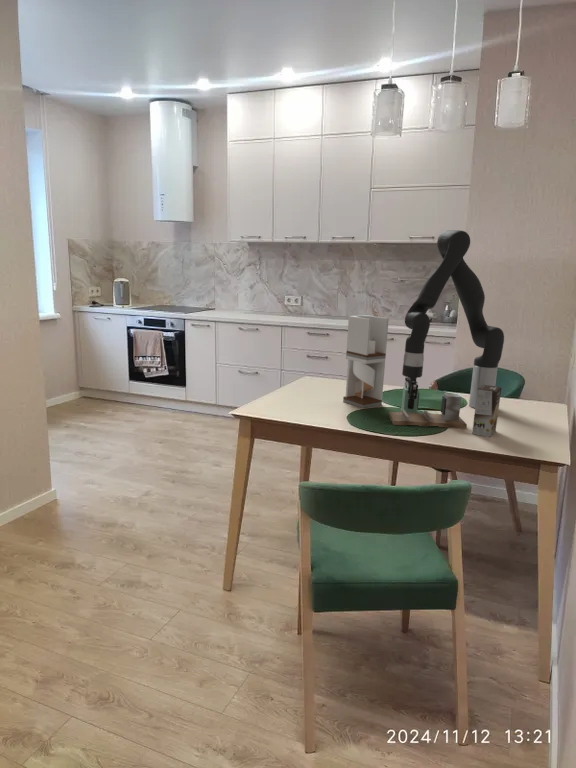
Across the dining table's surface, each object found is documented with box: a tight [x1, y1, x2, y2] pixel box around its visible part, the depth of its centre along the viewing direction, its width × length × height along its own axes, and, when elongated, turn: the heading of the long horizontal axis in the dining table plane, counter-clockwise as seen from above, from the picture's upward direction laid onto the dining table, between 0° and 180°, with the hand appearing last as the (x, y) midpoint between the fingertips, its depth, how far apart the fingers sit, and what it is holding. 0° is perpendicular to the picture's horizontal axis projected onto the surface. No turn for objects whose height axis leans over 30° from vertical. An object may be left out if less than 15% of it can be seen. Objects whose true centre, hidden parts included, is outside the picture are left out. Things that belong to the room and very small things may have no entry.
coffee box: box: [471, 385, 502, 438], centre depth 193 cm, size 9×6×16 cm
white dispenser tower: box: [342, 315, 390, 409], centre depth 223 cm, size 11×11×35 cm
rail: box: [387, 392, 468, 429], centre depth 203 cm, size 26×12×10 cm, turn 89°
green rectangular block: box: [400, 386, 420, 413], centre depth 216 cm, size 6×5×9 cm
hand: (409, 406), depth 217 cm, fingers closed on green rectangular block, 5 cm apart
